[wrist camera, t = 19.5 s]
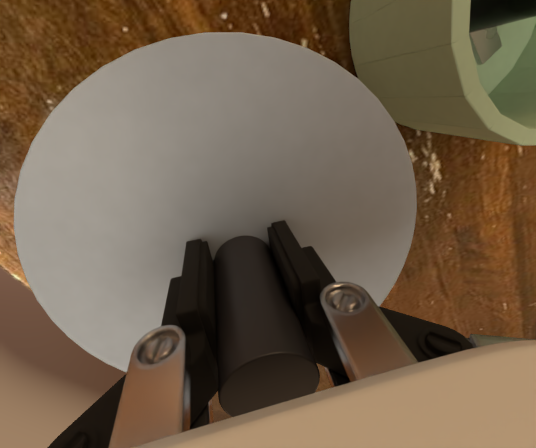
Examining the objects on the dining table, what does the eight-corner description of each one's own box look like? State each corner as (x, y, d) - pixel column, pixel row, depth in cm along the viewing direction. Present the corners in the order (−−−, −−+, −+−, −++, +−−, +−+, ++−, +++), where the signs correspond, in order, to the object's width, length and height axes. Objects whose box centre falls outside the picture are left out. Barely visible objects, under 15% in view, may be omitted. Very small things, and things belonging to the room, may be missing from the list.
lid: (-53, 17, 7) (-1081, -280, 1) (444, 53, 10) (755, 0, 4) (91, 389, 14) (8, 602, 8) (367, 346, 17) (451, 479, 11)
